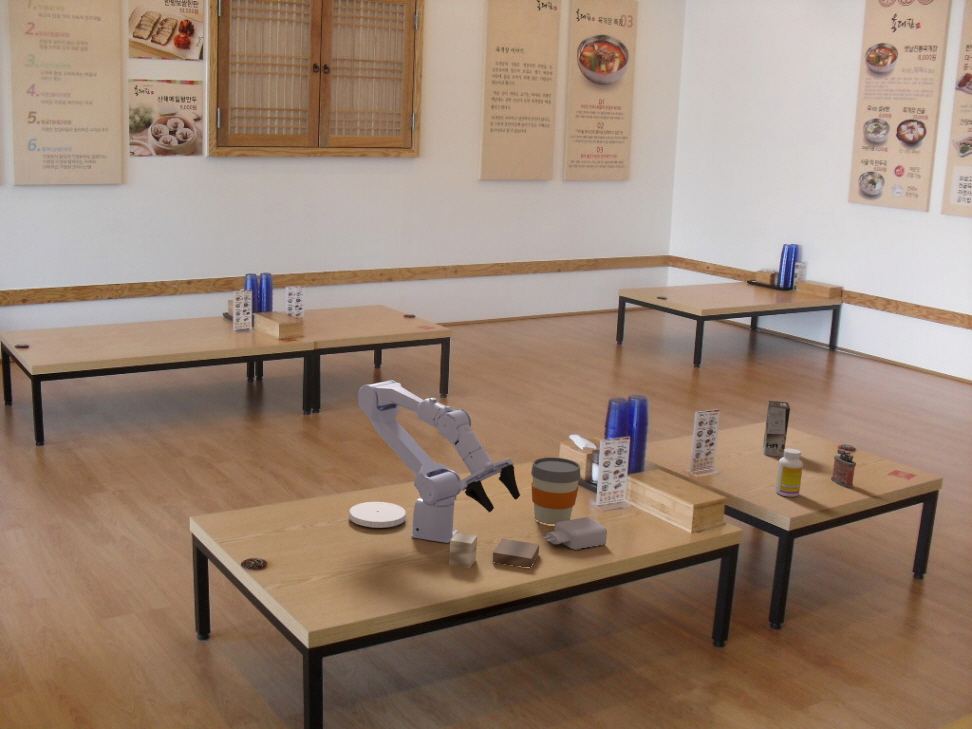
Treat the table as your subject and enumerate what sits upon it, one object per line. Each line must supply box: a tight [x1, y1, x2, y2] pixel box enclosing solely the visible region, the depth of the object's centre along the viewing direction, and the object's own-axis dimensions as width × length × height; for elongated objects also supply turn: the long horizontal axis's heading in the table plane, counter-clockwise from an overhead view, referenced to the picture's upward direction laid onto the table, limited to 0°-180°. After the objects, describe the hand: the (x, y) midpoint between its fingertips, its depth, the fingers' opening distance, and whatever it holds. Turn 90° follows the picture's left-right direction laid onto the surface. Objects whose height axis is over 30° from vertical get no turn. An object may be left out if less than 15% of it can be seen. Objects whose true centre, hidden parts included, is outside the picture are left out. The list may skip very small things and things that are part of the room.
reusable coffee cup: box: [530, 456, 581, 525], centre depth 278 cm, size 13×12×15 cm
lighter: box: [830, 448, 857, 489], centre depth 323 cm, size 8×3×10 cm, turn 22°
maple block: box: [448, 532, 478, 569], centre depth 249 cm, size 5×5×6 cm
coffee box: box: [762, 400, 791, 458], centre depth 350 cm, size 9×6×16 cm
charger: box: [542, 516, 608, 551], centre depth 264 cm, size 5×9×15 cm
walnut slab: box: [492, 538, 540, 569], centre depth 253 cm, size 9×9×3 cm
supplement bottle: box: [775, 448, 804, 498], centre depth 310 cm, size 7×7×13 cm
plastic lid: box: [348, 501, 407, 529], centre depth 272 cm, size 14×14×2 cm
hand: (504, 503), depth 249 cm, fingers open, 7 cm apart
